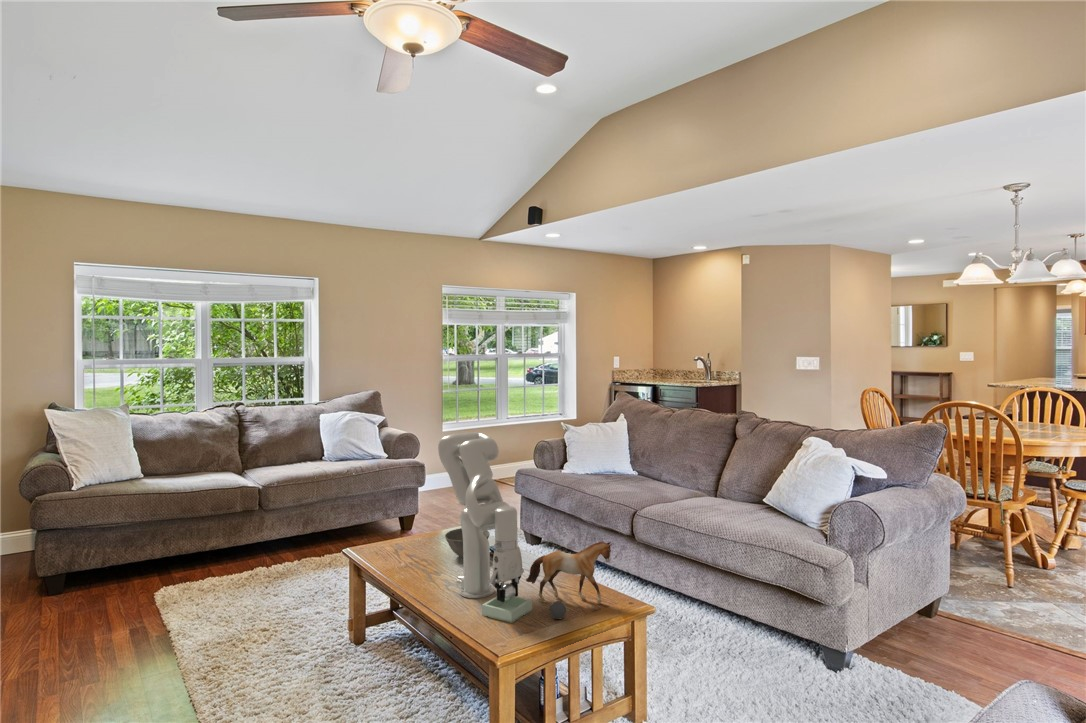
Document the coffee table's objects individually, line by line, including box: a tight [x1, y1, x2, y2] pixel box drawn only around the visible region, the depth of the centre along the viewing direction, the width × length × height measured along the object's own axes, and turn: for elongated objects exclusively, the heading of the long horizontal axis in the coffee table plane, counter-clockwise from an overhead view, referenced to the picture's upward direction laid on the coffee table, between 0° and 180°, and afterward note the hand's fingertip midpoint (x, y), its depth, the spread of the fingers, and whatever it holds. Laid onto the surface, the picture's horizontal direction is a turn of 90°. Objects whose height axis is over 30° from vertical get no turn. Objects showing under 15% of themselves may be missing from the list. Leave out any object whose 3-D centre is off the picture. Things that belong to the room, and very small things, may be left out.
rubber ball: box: [549, 600, 568, 620], centre depth 212 cm, size 6×6×6 cm
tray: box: [481, 595, 533, 624], centre depth 217 cm, size 12×12×4 cm
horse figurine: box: [525, 541, 613, 605], centre depth 227 cm, size 31×8×21 cm, turn 81°
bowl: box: [444, 527, 490, 559], centre depth 275 cm, size 19×19×10 cm
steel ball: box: [503, 582, 516, 601], centre depth 217 cm, size 6×6×6 cm
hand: (507, 597), depth 217 cm, fingers closed on steel ball, 5 cm apart
